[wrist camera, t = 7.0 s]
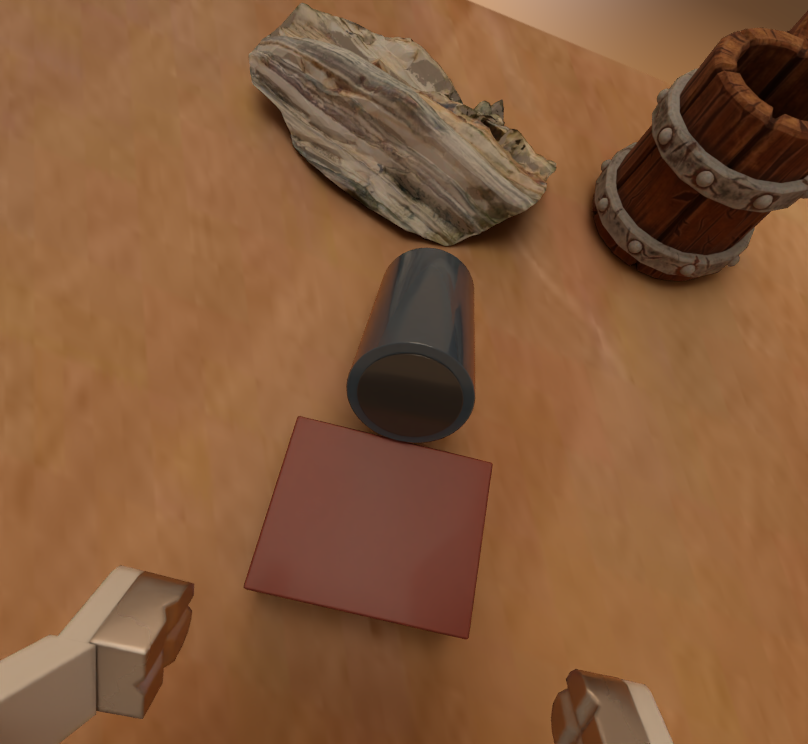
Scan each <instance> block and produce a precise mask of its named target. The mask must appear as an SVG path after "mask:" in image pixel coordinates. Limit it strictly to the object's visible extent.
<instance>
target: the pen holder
mask: <svg viewBox="0 0 808 744" xmlns="http://www.w3.org/2000/svg"><path fill="white" fill-rule="evenodd" d="M347 396H348V400H349V403H350V405H351V408H352V409H353V411H354V413H355V414H356V415H357V417H358V418H359V419H360V420H361V421H362V422H363V423H364V424H365V425H366V426H368V427H369V428H370V429H372V430H373V431H375V432H377V433H378V434H380V435H382V436H385V437H387V438H390V439H394V440H397V441H402V442H410V443H422V442H430V441H435V440H438V439H442V438H444V437H446V436H449V435H450V434H452V433H454V432H455V431H457V430H458V429H459V428H460V427H461V426H462V425H463V424H464V423H465V422H466V421H467V419H468V418H469V417H470V415H471V413H472V410H473V407H474V403H475V324H474V284H473V280H472V277H471V275H470V273H469V271H468V269H467V268H466V266H465V265H464V264H463V263H462V262H461V261H460V260H459V259H458V258H456V257H455V256H453V255H452V254H450V253H448V252H446V251H443V250H440V249H435V248H419V249H414V250H411V251H408V252H406V253H404V254H402V255H400V256H399V257H397V258H396V259H395V260H394V261H393V262H392V263H391V264H390V265H389V267H388V268H387V270H386V272H385V274H384V276H383V279H382V282H381V285H380V288H379V290H378V293H377V296H376V299H375V302H374V305H373V307H372V310H371V313H370V316H369V319H368V322H367V324H366V327H365V330H364V333H363V336H362V338H361V341H360V344H359V347H358V350H357V353H356V355H355V358H354V361H353V364H352V367H351V370H350V372H349V376H348V379H347Z"/></svg>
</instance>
